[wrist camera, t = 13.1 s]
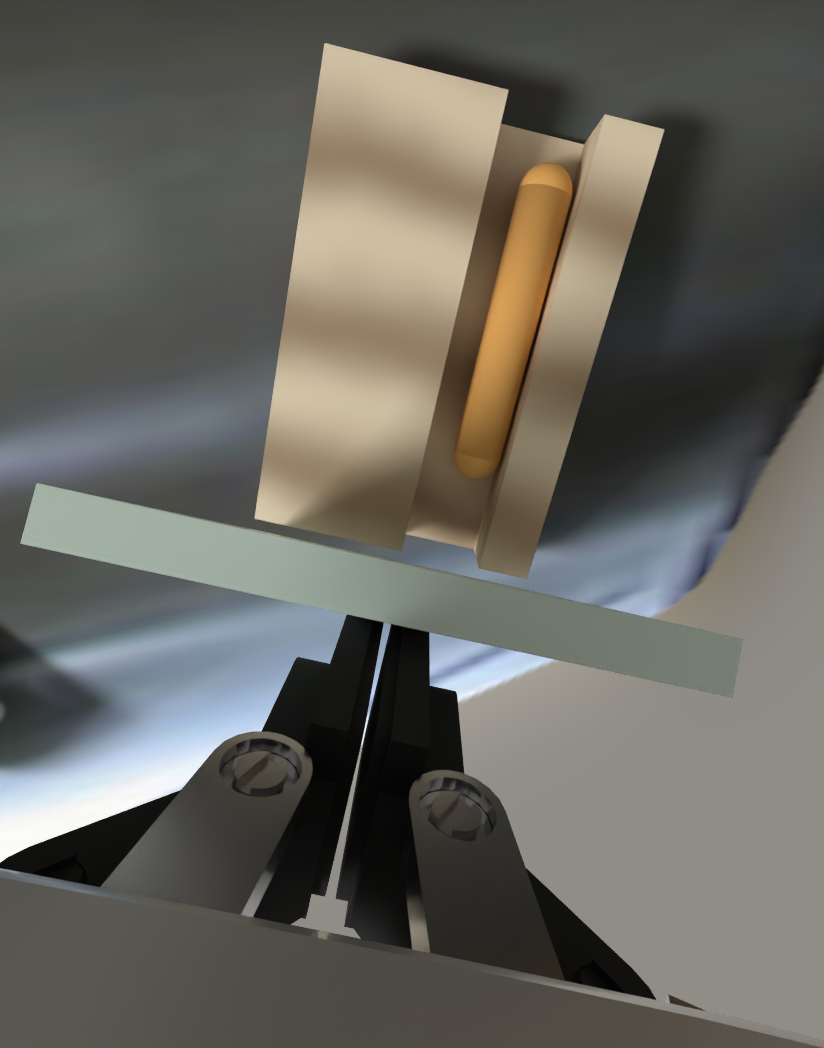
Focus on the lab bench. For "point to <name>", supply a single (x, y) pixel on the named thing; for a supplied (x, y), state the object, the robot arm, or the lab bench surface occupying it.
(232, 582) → the plate
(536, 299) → the rod
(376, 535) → the base
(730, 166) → the lab bench surface
